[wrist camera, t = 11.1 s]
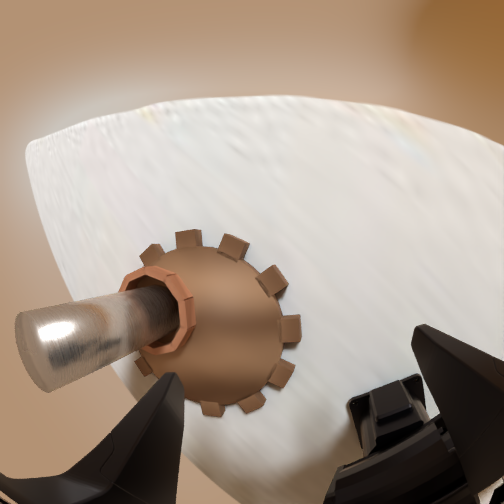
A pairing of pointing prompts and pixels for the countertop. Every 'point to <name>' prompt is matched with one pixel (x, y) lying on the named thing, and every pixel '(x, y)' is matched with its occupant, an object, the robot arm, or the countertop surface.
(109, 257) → the countertop surface
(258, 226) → the countertop surface
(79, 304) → the drive pin
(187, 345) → the sprocket
